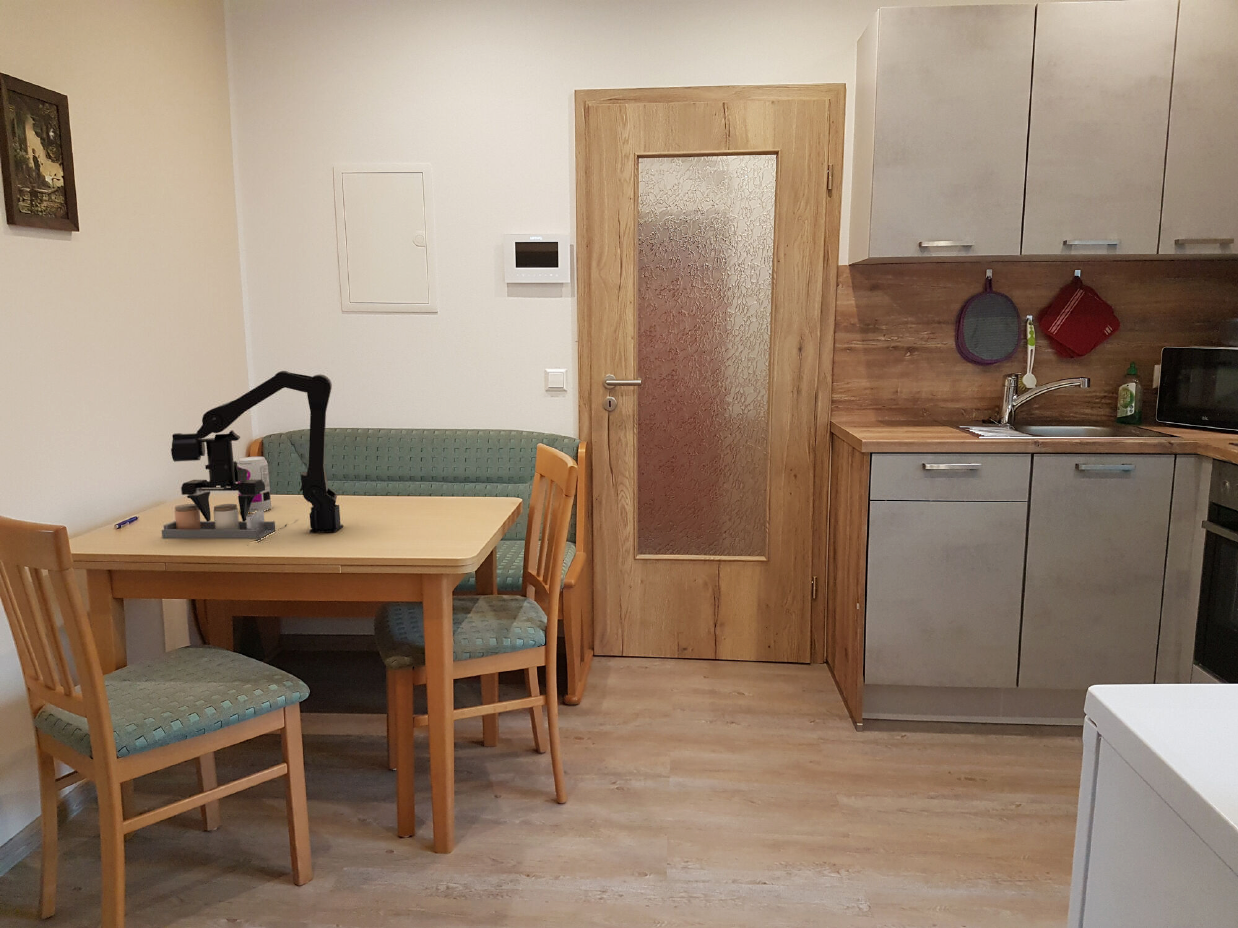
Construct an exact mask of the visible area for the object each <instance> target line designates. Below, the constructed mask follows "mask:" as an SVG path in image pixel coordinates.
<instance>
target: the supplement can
mask: <svg viewBox="0 0 1238 928" xmlns="http://www.w3.org/2000/svg"><path fill="white" fill-rule="evenodd" d="M236 463H237V466H238V468H242V469H245V470H247V480H262V481H263V482H264V484H265V490H264V491H262V492H260V494H258V495H256V496H255V497H254V498H253V500H252V503H251V505H250V509H249V512H255V511H259V510H263V511H264V510H267V509H269V510H270V508H272V500H271V498H272V497H271V488H270V487H271V486H270V476H269V466H268V462H267V459H266V458H265V457H264V456H246V457H240V458H238V459H237V461H236ZM236 483H241V482H236ZM237 492H238V491H237ZM240 495H242V494H240V493H239V492H238V496H240ZM267 511H268V510H267ZM264 512H265V511H264Z"/></svg>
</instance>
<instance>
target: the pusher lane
mask: <svg viewBox="0 0 1238 928" xmlns="http://www.w3.org/2000/svg"><path fill="white" fill-rule="evenodd" d="M200 521H201V529H176V520H174V521H170V522H169V523H166V524H163V529H162V530H161V538H162V539H180V540H181V539H188V540H189V539H194V540H196V539H197V540H198V539H199V540H201V539H203V540H204V539H207V540H208V539H210V540H212V539H215V540H216V539H217V540H218V539H219V540H220V539H222V540H234V539H235V540H253V541H258V540H261V538H264V537H266V536H267V535H269V534H271V533H273V532H275V531H276V522H275V521H274V520H273V521H268V520H267V521H266V520H264V522H265V530H263V531H261V532H259V531H258V530H247V521H242V520H241V521H240V520H239V527H240V530H220V529H215V522H214V520H210V521H206V520H200ZM261 541H262V540H261Z"/></svg>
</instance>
